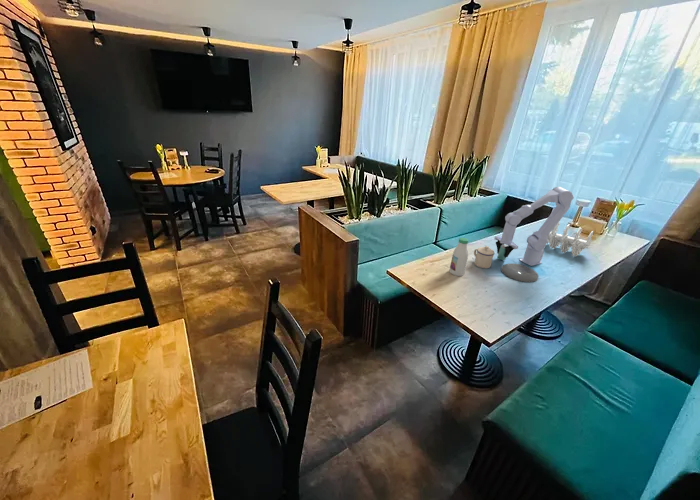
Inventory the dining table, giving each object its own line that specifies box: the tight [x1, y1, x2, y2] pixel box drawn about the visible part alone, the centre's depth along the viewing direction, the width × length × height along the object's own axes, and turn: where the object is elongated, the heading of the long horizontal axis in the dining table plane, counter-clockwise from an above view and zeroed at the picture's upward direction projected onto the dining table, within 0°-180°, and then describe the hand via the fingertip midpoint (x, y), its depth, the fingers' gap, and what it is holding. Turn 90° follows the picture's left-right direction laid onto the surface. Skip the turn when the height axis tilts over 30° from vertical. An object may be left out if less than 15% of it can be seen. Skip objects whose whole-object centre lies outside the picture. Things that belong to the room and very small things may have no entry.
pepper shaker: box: [497, 244, 508, 261], centre depth 170 cm, size 4×4×8 cm
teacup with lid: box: [473, 245, 495, 269], centre depth 165 cm, size 12×9×12 cm
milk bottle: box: [448, 237, 469, 277], centre depth 154 cm, size 8×8×20 cm
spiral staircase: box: [546, 221, 594, 258], centre depth 181 cm, size 18×18×25 cm
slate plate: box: [500, 263, 539, 283], centre depth 159 cm, size 18×18×1 cm
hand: (502, 255), depth 171 cm, fingers closed on pepper shaker, 4 cm apart
